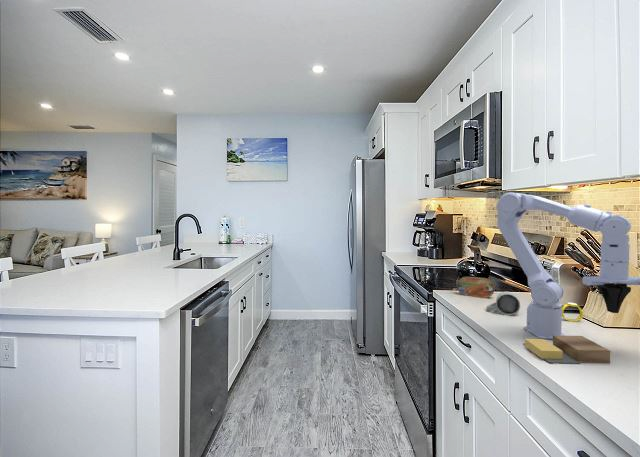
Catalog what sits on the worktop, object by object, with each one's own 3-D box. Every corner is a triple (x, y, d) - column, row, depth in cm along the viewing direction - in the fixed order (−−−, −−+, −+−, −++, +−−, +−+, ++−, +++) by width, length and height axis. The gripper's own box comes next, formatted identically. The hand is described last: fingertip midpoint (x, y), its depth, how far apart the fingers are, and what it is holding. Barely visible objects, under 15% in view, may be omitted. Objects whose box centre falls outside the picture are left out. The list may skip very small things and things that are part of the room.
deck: (552, 346, 93) (552, 335, 93) (581, 346, 93) (581, 335, 93) (577, 362, 83) (577, 350, 83) (610, 362, 83) (610, 350, 83)
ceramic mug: (518, 310, 127) (518, 290, 127) (520, 316, 120) (520, 295, 119) (486, 308, 132) (486, 288, 131) (486, 313, 124) (486, 292, 124)
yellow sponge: (544, 339, 93) (543, 346, 93) (524, 338, 93) (524, 346, 93) (562, 351, 85) (562, 359, 85) (541, 350, 85) (541, 358, 85)
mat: (522, 344, 95) (522, 343, 95) (550, 344, 94) (550, 343, 94) (548, 363, 83) (548, 362, 83) (580, 364, 82) (580, 362, 82)
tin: (456, 294, 152) (456, 275, 152) (458, 293, 155) (458, 274, 154) (494, 299, 144) (494, 279, 143) (495, 297, 146) (495, 278, 146)
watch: (579, 321, 116) (581, 303, 115) (583, 323, 113) (585, 305, 113) (558, 318, 117) (560, 301, 117) (562, 320, 115) (564, 303, 114)
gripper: (596, 263, 87) (595, 316, 88) (657, 263, 86) (655, 316, 87) (577, 259, 94) (576, 308, 95) (633, 259, 93) (632, 309, 94)
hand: (612, 312), depth 91 cm, fingers closed
